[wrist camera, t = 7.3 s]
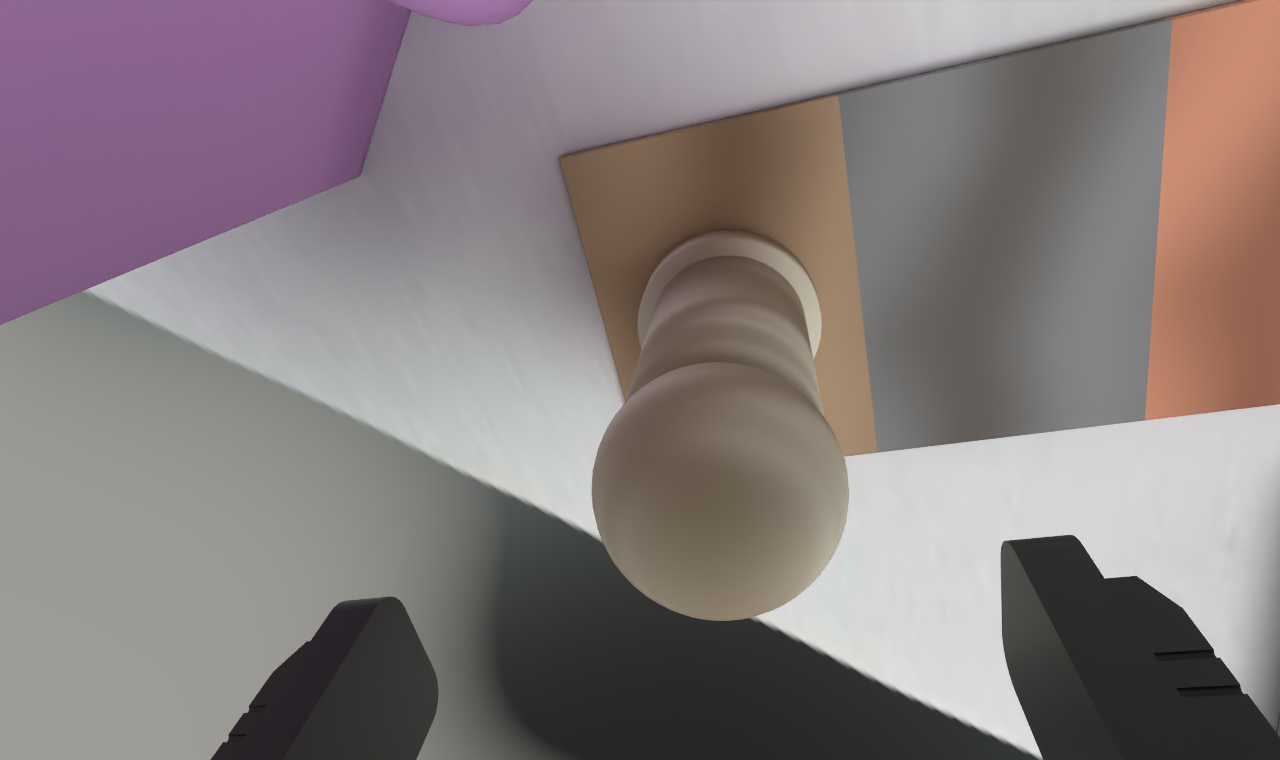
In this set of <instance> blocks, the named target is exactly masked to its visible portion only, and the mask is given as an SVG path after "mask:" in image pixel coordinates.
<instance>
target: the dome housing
mask: <svg viewBox="0 0 1280 760" xmlns="http://www.w3.org/2000/svg"><path fill="white" fill-rule="evenodd" d="M1277 734H1278V736H1279V737H1280V719H1279V724H1278V729H1277Z"/></svg>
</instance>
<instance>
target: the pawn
mask: <svg viewBox="0 0 1280 760" xmlns="http://www.w3.org/2000/svg"><path fill="white" fill-rule="evenodd" d="M637 323H638V336H639V342H640V346H641V349H642V350H641V353H640V356H639V360H638V363H637V366H636V369H635V372H634V375H633V378H632V382H631V385H630V388H629V391H628V394H627V397H626V400H625V404H624V405H623V406H622V408H621V409H620V410H619V411H618V412H617V414H616V415H615V416H614V418H613V419H612V421H611V423H610V424H609V426H608V427H607V430H606V432H605V434H604V436H603V438H602V441H601V443H600V445H599V448H598V451H597V456H596V460H595V464H594V469H593V477H592V502H593V510H594V514H595V519H596V523H597V527H598V531H599V533H600V536H601V538H602V541H603V543H604V545H605V547H606V549H607V551H608V553H609V555H610V556H611V558H612V560H613V562H614V563H615V564H616V565H617V567H618V568H619V570H620V571H621V572H622V573H623V574H624V576H625V577H626V578H627V579H628V580H629V581H630V582H631V583H632V584H633V585H634V586H635V587H636V588H637V589H638V590H640V591H641V592H642V593H643V594H645V595H646V596H647V597H649V598H651V599H652V600H654V601H655V602H657V603H659V604H660V605H662V606H665V607H666V608H668V609H670V610H673V611H675V612H678V613H681V614H683V615H687V616H691V617H694V618H700V619H706V620H719V621H724V620H738V619H745V618H749V617H754V616H757V615H760V614H763V613H766V612H769V611H772V610H774V609H776V608H778V607H780V606H782V605H784V604H786V603H788V602H789V601H791V600H792V599H794V598H795V597H796V596H798V595H799V594H800V593H801V592H803V591H804V590H805V589H806V588H807V587H809V586H810V585H811V584H812V583H813V582H814V581H815V580H816V578H817V577H818V576H819V575H820V574H821V572H822V571H823V570H824V568H825V567H826V565H827V564H828V562H829V561H830V559H831V558H832V556H833V554H834V552H835V550H836V548H837V546H838V544H839V541H840V539H841V536H842V533H843V530H844V526H845V523H846V517H847V510H848V501H849V488H848V475H847V469H846V465H845V460H844V457H843V454H842V451H841V448H840V446H839V443H838V440H837V438H836V436H835V434H834V432H833V430H832V429H831V427H830V425H829V423H828V422H827V420H826V419H825V417H824V413H823V408H822V403H821V398H820V392H819V387H818V382H817V376H816V371H815V366H814V361H813V359H814V357H815V355H816V352H817V350H818V347H819V342H820V338H821V328H822V322H821V312H820V307H819V302H818V298H817V294H816V290H815V287H814V284H813V282H812V279H811V277H810V275H809V274H808V272H807V270H806V268H805V267H804V266H803V264H802V263H801V262H800V260H799V259H798V258H797V257H796V256H795V255H794V254H793V253H792V252H791V251H790V250H788V249H787V248H786V247H784V246H783V245H782V244H780V243H778V242H777V241H775V240H773V239H771V238H769V237H766V236H764V235H762V234H758V233H755V232H751V231H745V230H737V229H724V230H716V231H710V232H707V233H703V234H700V235H697V236H695V237H692V238H690V239H688V240H686V241H685V242H683V243H681V244H679V245H678V246H677V247H675V248H674V249H673V250H671V251H670V252H669V253H668V254H667V255H666V256H665V257H664V258H663V259H662V260H661V262H660V263H659V264H658V266H657V267H656V268H655V270H654V272H653V273H652V275H651V277H650V279H649V282H648V284H647V286H646V289H645V292H644V294H643V297H642V300H641V303H640V308H639V312H638V322H637Z"/></svg>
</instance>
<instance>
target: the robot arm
mask: <svg viewBox="0 0 1280 760" xmlns="http://www.w3.org/2000/svg"><path fill="white" fill-rule="evenodd" d="M1001 598H1002V638H1003V646H1004V653H1005V658H1006V662H1007V666H1008V670H1009V674H1010V677H1011V681H1012V684H1013V687H1014V689H1015V692H1016V694H1017V697H1018V699H1019V702H1020V704H1021V706H1022V709H1023V711H1024V714H1025V716H1026V719H1027V721H1028V723H1029V726H1030V728H1031V731H1032V733H1033V736H1034V738H1035V741H1036V743H1037V745H1038V748H1039V750H1040V753H1041V755H1042V758H1043V760H1280V737H1279V736H1278V734H1277V733H1276V732H1275V730H1274V729H1273V728H1272V726H1271V725H1270V724H1269V722H1268V721H1267V720H1266V718H1265V717H1264V716H1263V714H1262V713H1261V712H1260V710H1259V709H1258V708H1257V706H1256V705H1255V704H1254V702H1253V701H1252V700H1251V698H1250V697H1249V696H1248V694H1243V693H1242V691H1241V688H1240V684H1239V682H1238V681H1237V680H1236V678H1235V677H1234V676H1233V674H1232V673H1231V672H1230V670H1229V669H1228V668H1227V667H1226V665H1225V664H1224V663H1223V661H1222V660H1221V659H1220V658H1216V656H1215V654H1214V649H1213V648H1212V647H1211V645H1210V644H1209V643H1208V641H1207V640H1206V639H1205V637H1204V636H1203V635H1202V633H1201V632H1200V631H1199V629H1198V628H1197V627H1196V625H1195V624H1194V623H1193V621H1192V620H1191V619H1190V617H1189V616H1188V615H1187V613H1186V612H1185V611H1184V609H1183V608H1182V607H1180V606H1179V605H1177V604H1176V603H1174V602H1173V601H1171V600H1170V599H1169V598H1167V597H1166V596H1164V595H1163V594H1161V593H1160V592H1159V591H1157V590H1156V589H1154V588H1153V587H1151V586H1150V585H1148V584H1147V583H1146V582H1144V581H1143V580H1141V579H1140V578H1138V577H1137V576H1131V577H1119V578H1106V579H1104V577H1103V576H1102V574H1101V573H1100V571H1099V569H1098V568H1097V566H1096V565H1095V563H1094V562H1093V560H1092V559H1091V557H1090V556H1089V554H1088V553H1087V551H1086V550H1085V548H1084V546H1083V545H1082V544H1081V542H1080V541H1079V540H1078V539H1077V538H1076V537H1075V536H1073V535H1064V536H1053V537H1042V538H1031V539H1021V540H1010V541H1004V542H1003V543H1002V547H1001ZM437 703H438V683H437V677H436V674H435V671H434V669H433V667H432V665H431V662H430V660H429V658H428V656H427V654H426V652H425V650H424V647H423V645H422V643H421V641H420V639H419V637H418V635H417V633H416V631H415V628H414V626H413V624H412V622H411V620H410V618H409V616H408V613H407V611H406V609H405V607H404V605H403V604H402V603H401V602H400V600H398V599H397V598H395V597H381V598H371V599H360V600H349V601H343V602H341V603H339V604H337V605H336V606H335V607H334V608H333V609H332V611H331V612H330V613H329V615H328V616H327V618H326V619H325V621H324V623H323V624H322V625H321V627H320V628H319V630H318V631H317V633H316V634H315V636H314V637H313V638H312V640H311V641H309V642H306V643H305V644H304V645H302V647H300V648H299V649H298V650H297V651H296V652H295V653H294V654H292V655H291V656H290V657H289V658H288V659H287V660H286V661H285V662H284V663H283V664H281V665H280V666H279V667H278V668H277V669H276V670H275V671H274V672H273V673H272V674H271V676H270V677H269V679H268V680H267V681H266V683H265V684H264V685H263V687H262V688H261V690H260V691H259V693H258V694H257V695H256V697H255V698H254V700H253V701H252V702H251V704H250V705H249V712H248V713H244V714H243V715H242V716H241V718H240V719H239V721H238V722H237V723H236V725H235V726H234V728H233V729H232V731H231V732H230V733H229V740H228V742H223V743H222V745H221V746H220V747H219V749H218V750H217V752H216V753H215V754H214V756H213V757H212V759H211V760H416V759H417V756H418V754H419V752H420V750H421V747H422V745H423V743H424V740H425V738H426V736H427V733H428V731H429V729H430V727H431V724H432V722H433V719H434V717H435V713H436V709H437Z"/></svg>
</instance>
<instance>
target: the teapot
mask: <svg viewBox="0 0 1280 760" xmlns="http://www.w3.org/2000/svg"><path fill="white" fill-rule="evenodd" d="M532 1H533V0H0V325H1V324H3V323H6V322H8V321H11V320H13V319H15V318H17V317H20V316H23V315H25V314H28V313H30V312H32V311H35V310H37V309H40V308H42V307H44V306H47V305H49V304H52V303H54V302H56V301H59V300H61V299H64V298H66V297H68V296H71V295H73V294H76V293H78V292H81V291H83V290H86V289H88V288H90V287H93V286H95V285H98V284H100V283H102V282H105V281H107V280H110V279H112V278H115V277H117V276H119V275H122V274H124V273H127V272H129V271H132V270H134V269H136V268H139V267H141V266H144V265H146V264H148V263H151V262H153V261H156V260H158V259H161V258H163V257H165V256H168V255H170V254H173V253H175V252H177V251H180V250H182V249H185V248H187V247H190V246H192V245H194V244H197V243H199V242H202V241H204V240H207V239H209V238H211V237H214V236H216V235H219V234H221V233H223V232H226V231H228V230H231V229H233V228H236V227H238V226H240V225H243V224H245V223H248V222H250V221H252V220H255V219H257V218H260V217H262V216H265V215H267V214H269V213H272V212H274V211H277V210H279V209H281V208H284V207H286V206H289V205H291V204H294V203H296V202H298V201H301V200H303V199H306V198H308V197H311V196H313V195H315V194H318V193H320V192H323V191H325V190H327V189H330V188H332V187H335V186H337V185H340V184H342V183H344V182H347V181H349V180H352V179H354V178H356V177H359V176H360V174H361V171H362V167H363V164H364V161H365V158H366V154H367V151H368V148H369V145H370V142H371V138H372V135H373V132H374V129H375V125H376V122H377V119H378V116H379V112H380V109H381V106H382V103H383V100H384V96H385V93H386V90H387V87H388V83H389V80H390V77H391V74H392V70H393V67H394V64H395V61H396V58H397V54H398V51H399V48H400V45H401V41H402V38H403V35H404V32H405V29H406V25H407V22H408V19H409V16H410V12H411V10H412V11H414V12H417V13H419V14H422V15H425V16H427V17H431V18H435V19H438V20H442V21H445V22H450V23H455V24H461V25H466V26H476V25H488V24H497V23H501V22H503V21H505V20H508V19H510V18H512V17H514V16H516V15H518V14H519V13H520V12H521V11H522V10H523V9H524V8H525V7H526V6H527V5H529V4H530V3H531V2H532Z"/></svg>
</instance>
